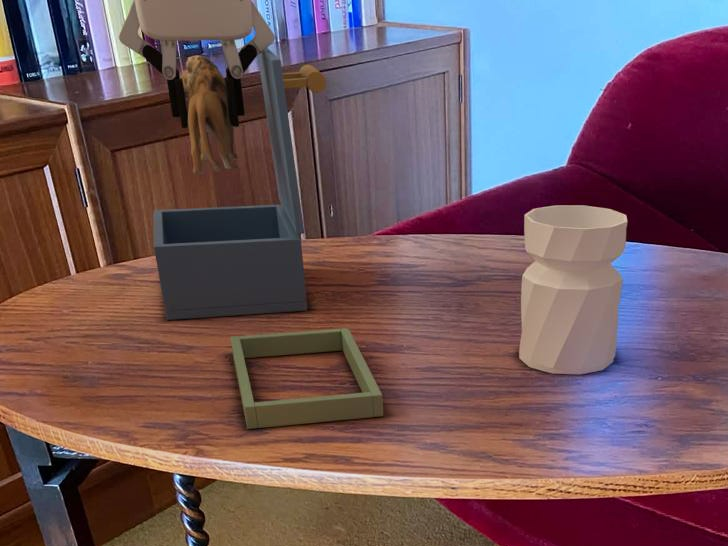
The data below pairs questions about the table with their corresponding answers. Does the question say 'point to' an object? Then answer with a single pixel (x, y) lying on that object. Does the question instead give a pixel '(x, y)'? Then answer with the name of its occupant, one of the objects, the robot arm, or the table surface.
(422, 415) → the table surface
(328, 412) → the tray
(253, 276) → the chest
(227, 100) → the robot arm
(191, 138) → the lion figurine
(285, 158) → the lid
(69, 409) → the table surface
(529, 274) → the vase
